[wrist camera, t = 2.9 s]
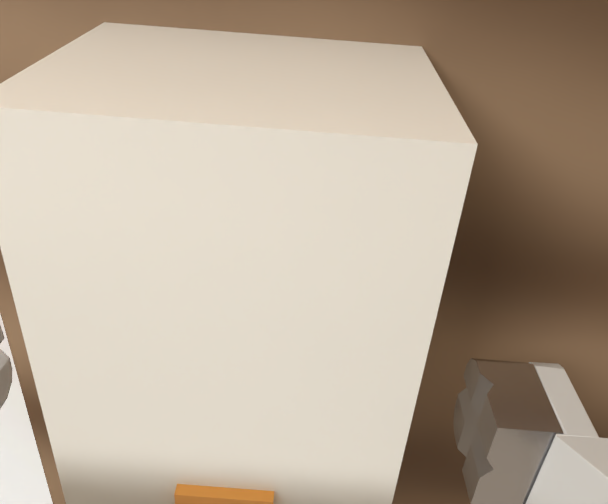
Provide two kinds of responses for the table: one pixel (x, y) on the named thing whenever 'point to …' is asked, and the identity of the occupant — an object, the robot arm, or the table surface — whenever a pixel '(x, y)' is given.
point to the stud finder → (228, 259)
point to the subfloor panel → (479, 196)
